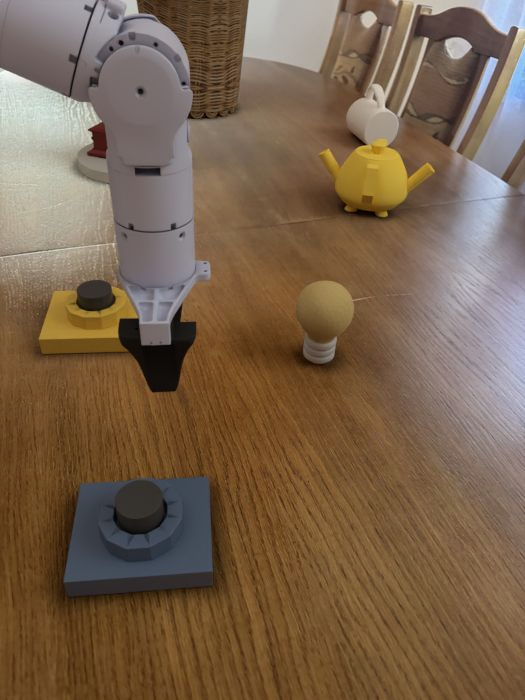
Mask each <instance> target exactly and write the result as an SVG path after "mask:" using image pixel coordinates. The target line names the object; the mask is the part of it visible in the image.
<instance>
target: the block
mask: <svg viewBox="0 0 525 700" xmlns="http://www.w3.org/2000/svg"><path fill="white" fill-rule="evenodd" d="M137 480H146V481H150V482H153V483H154V484H156V485H157V486H158V487H159V488H160V490H161V492H162V497H163V506H164V516H163V519H162V521H161V523H160V524H159V525H158V526H157V527H156V528H155V529H153V530H152V531H150V532H147V533H144V534H132V533H129V532H127V531H125V530H124V529H123V528H122V527H121V526H120V524H119V522H118V518H117V512H116V507H115V498H116V495H117V493H118V492H119V490H120V489H121V488H122V487H123V486H125V485H126V484H128V483H130V482H133V481H137ZM210 494H211V493H210V476H191V477H174V478H172V477H171V478H155V477H144V478H143V477H142V478H132V479H130V480H119V481H118V480H117V481H102V482H99V481H98V482H84V483H83V482H82V483H80V485H79V491H78V496H77V501H76V508H75V513H74V519H73V524H72V530H71V534H70V535H71V536H70V540H69V547H68V553H67V558H66V564H65V570H64V575H63V579H62V580H63V581H62V584H63V586H64V589H65V592H66V595H67V597H68V598H75V597H86V596H98V595H112V594H125V593H127V594H128V593H139V592H150V591H152V592H153V591H164V590H177V589H178V590H179V589H190V588H191V589H192V588H204V587H213V586H214V567H213V566H214V565H213V545H212V543H213V541H212V521H211V520H212V517H211V495H210Z"/></svg>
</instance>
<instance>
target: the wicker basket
mask: <svg viewBox="0 0 525 700" xmlns="http://www.w3.org/2000/svg"><path fill="white" fill-rule="evenodd" d="M249 3H250V0H136V6H137V14H139V13H142V14H150V15H153V16H155V17H156V18H157V19H158V21H159V22H160V23H161V24H163V25H165V26H166V27H168V28H169V29H170V30H171V31H172V32H173V33H174V34H175V35H176V36H177V37H178V39H179V40H180V42H181V43H182V45H183V47H184V49H185V51H186V54H187V57H188V61H189V68H190V90H192V92H193V100H192V106H191V109H190V112H189V114H190V116H191V118H194V119H195V120H198V119H201V118H203V116H204V115H205V116H206V117H207V118H208V119H214V118H216V117H217V116H218V114H219V115H220V116H221V117H225V116H227V114H228V113H230V114H233V113H234V112H235V110H237V108H238V101H239V92H240V84H241V75H242V67H243V58H244V57H243V56H244V50H245V49H244V48H245V40H246V32H247V31H246V30H247V22H248V21H247V20H248V14H249V13H248V10H249Z"/></svg>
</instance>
